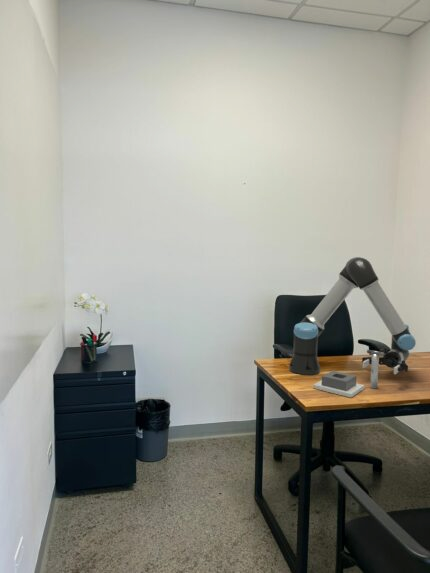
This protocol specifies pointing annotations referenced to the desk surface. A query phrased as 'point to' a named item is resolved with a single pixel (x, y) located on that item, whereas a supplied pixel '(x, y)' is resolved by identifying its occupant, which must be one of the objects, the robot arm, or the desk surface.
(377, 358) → the chuck key
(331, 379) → the chuck block
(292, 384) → the desk surface
